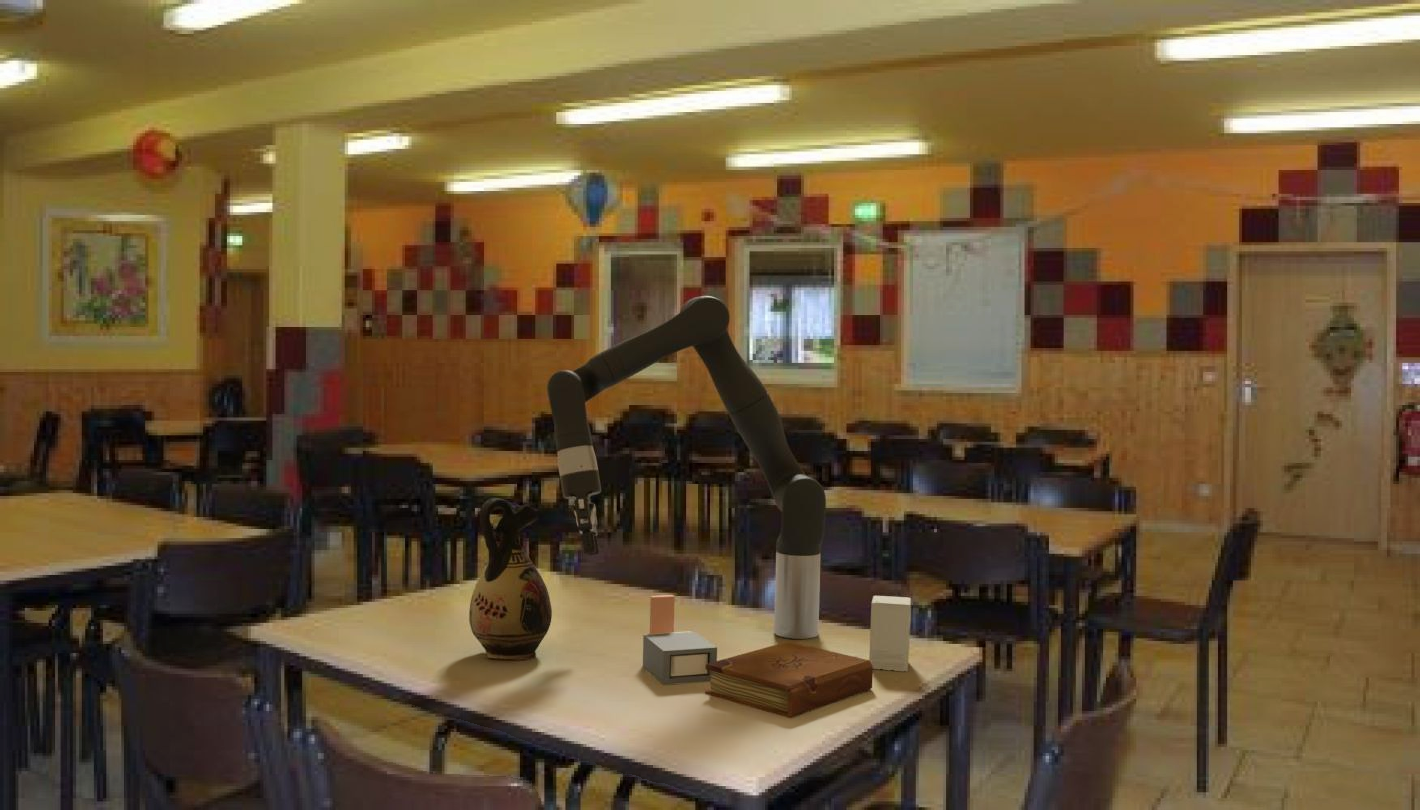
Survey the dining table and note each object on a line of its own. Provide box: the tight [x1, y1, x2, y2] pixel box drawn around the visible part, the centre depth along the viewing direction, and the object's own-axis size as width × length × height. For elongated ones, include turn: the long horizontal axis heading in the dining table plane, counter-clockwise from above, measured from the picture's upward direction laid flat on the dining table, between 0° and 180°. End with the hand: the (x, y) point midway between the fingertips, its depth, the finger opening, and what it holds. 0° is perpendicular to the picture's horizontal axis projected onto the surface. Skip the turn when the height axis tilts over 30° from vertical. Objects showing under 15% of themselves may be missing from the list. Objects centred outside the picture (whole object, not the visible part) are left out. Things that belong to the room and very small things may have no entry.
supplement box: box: [868, 595, 912, 672], centre depth 220 cm, size 7×7×13 cm
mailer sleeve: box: [642, 631, 718, 686], centre depth 211 cm, size 10×12×6 cm
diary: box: [704, 641, 874, 719], centre depth 201 cm, size 23×19×6 cm
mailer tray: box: [643, 594, 708, 676], centre depth 213 cm, size 9×17×12 cm, turn 20°
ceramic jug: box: [468, 497, 553, 661], centre depth 220 cm, size 17×15×30 cm
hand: (592, 554), depth 225 cm, fingers open, 8 cm apart
